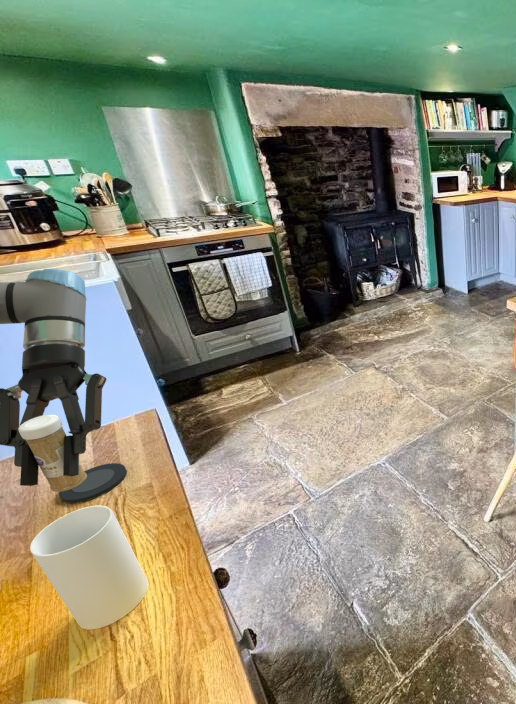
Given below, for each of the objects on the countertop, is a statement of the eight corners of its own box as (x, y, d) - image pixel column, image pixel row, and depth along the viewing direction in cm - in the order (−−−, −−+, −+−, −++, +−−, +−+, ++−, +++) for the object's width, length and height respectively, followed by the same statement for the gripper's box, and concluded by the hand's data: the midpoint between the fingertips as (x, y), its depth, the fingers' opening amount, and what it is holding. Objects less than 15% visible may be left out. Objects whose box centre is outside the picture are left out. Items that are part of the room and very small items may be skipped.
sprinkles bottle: (43, 493, 69) (8, 430, 64) (69, 473, 73) (38, 413, 68) (71, 493, 70) (38, 430, 64) (95, 473, 74) (66, 413, 68)
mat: (45, 502, 79) (43, 498, 79) (94, 465, 89) (92, 462, 88) (95, 503, 79) (93, 500, 79) (139, 466, 88) (138, 463, 88)
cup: (65, 639, 58) (14, 565, 52) (92, 586, 65) (50, 515, 58) (137, 616, 61) (97, 543, 55) (156, 567, 68) (122, 498, 62)
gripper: (126, 347, 80) (128, 465, 74) (1, 365, 73) (-9, 498, 66) (107, 334, 74) (108, 462, 67) (-32, 351, 67) (-47, 497, 60)
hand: (50, 479), depth 67 cm, fingers closed on sprinkles bottle, 4 cm apart
